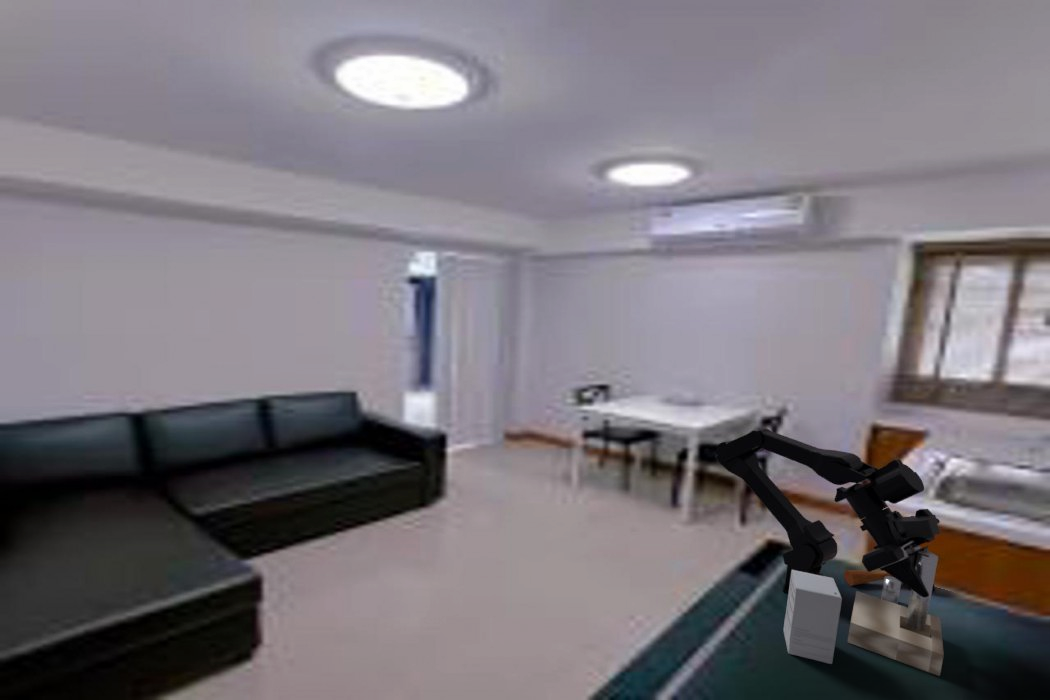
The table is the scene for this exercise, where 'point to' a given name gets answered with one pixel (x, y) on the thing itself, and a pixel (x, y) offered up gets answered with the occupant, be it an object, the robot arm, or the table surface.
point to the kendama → (863, 576)
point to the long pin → (916, 602)
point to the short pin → (891, 589)
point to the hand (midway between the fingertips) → (929, 594)
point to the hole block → (895, 633)
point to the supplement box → (812, 616)
